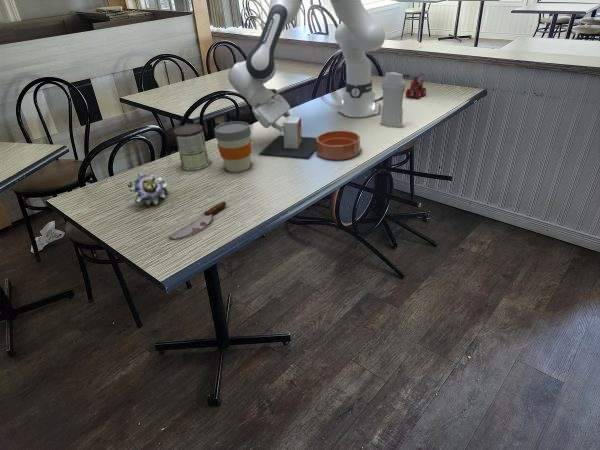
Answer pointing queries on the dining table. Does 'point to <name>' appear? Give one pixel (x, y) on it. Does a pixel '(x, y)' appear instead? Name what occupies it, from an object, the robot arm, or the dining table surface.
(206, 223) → the kitchen knife
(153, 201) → the passion flower
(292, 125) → the small box
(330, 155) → the bowl
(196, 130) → the coffee can
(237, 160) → the reusable coffee cup
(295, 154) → the mat
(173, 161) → the dining table surface
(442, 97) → the dining table surface
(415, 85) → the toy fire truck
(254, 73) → the robot arm
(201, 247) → the dining table surface
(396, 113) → the tall pale column
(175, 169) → the dining table surface
